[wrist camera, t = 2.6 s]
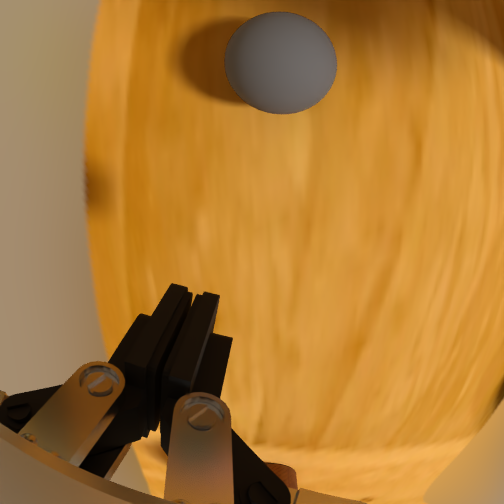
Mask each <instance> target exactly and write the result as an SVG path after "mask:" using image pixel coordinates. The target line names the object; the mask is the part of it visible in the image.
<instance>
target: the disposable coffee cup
mask: <svg viewBox="0 0 504 504" xmlns="http://www.w3.org/2000/svg"><path fill="white" fill-rule="evenodd" d="M266 465H267V466H268V467H269V468H270V469H271V470H272V471H273V472H274V473H275V474H276V475H277V476H278V477H279V478H280V479H281V480H282V481H283V482H284V483H285V485H286V486H287V487H289V488H293V489H296V490H298V487H297V478H296V472H295V470H294V469H292V468H290V467H288V466H284V465H279V464H266Z"/></svg>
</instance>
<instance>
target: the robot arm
mask: <svg viewBox="0 0 504 504" xmlns="http://www.w3.org/2000/svg"><path fill="white" fill-rule="evenodd" d="M192 296H193V293H191V292H188V288H187V287H185V286H181V285H177V284H173V283H172V284H171V285H170V286H169V288H168V290H167V291H166V293H165V294H164V296H163V298H162V299H161V301H160V302H159V304H158V306H157V307H156V309H155V311H154V312H153V314H152V316H148V315H145V314H142V313H141V314H139V315H138V317H137V318H136V320H135V321H134V323H133V324H132V326H131V327H130V329H129V330H128V332H127V333H126V335H125V336H124V338H123V339H122V341H121V343H120V344H119V346H118V347H117V349H116V350H115V352H114V354H113V355H112V357H111V358H110V360H109V361H108V363H107V362H101V361H96V362H89V363H87V364H84V365H83V366H81V367H80V368H79V369H78V370H77V371H76V372H75V373H74V374H73V375H72V376H71V377H70V378H69V379H68V380H67V381H66V382H65V383H64V384H62V385H58V386H53V387H49V388H44V389H39V390H34V391H29V392H24V393H19V394H15V395H12V396H7V394H6V392H4V391H1V390H0V504H366V503H364V502H361V501H356V500H350V499H345V498H340V497H335V496H331V495H327V494H322V493H318V492H314V491H310V490H306V489H303V488H300V489H299V490H296V489H293V488H289V487H287V486H286V485H285V483H284V482H283V481H282V480H281V479H280V478H279V477H278V476H277V475H276V474H275V473H274V472H273V471H272V470H271V469H270V468H269V467H268V466H267V465H266V464H265V463H264V462H263V461H262V460H261V459H260V458H259V457H258V456H257V455H256V454H255V453H254V452H253V451H252V450H251V449H250V448H249V447H248V446H247V445H246V443H245V442H244V441H243V440H242V439H241V438H240V437H239V436H238V435H237V434H236V433H235V431H234V430H233V429H232V428H231V414H230V410H229V408H228V407H227V405H226V403H224V402H223V401H222V400H221V399H220V396H221V391H222V386H223V382H224V377H225V373H226V368H227V363H228V359H229V354H230V349H231V345H232V340H233V338H231V337H227V336H223V335H219V334H215V333H213V329H214V324H215V319H216V314H217V309H218V304H219V298H220V295H217V294H212V293H208V292H204V293H203V295H199V294H197V295H196V297H195V299H194V301H193V304H192V306H191V303H192ZM159 422H160V433H161V447H162V448H163V450H164V451H165V453H166V454H167V456H168V461H167V471H166V481H165V491H164V499H161V498H158V497H155V496H152V495H148V494H145V493H142V492H139V491H136V490H133V489H130V488H127V487H125V486H122V485H119V484H117V483H114V482H111V481H109V480H110V479H111V477H112V476H113V474H114V472H115V471H116V469H117V468H118V466H119V465H120V463H121V462H122V460H123V458H124V457H125V455H126V454H127V452H128V450H129V449H130V446H131V444H132V442H135V441H138V440H141V437H142V436H143V437H146V438H147V437H148V435H149V432H150V430H152V431H156V430H157V427H158V425H159Z"/></svg>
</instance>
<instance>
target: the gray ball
mask: <svg viewBox="0 0 504 504" xmlns="http://www.w3.org/2000/svg"><path fill="white" fill-rule="evenodd" d="M225 71H226V75H227V78H228V81H229V83H230V85H231V86H232V88H233V89H234V91H235V92H236V93H237V95H238V96H239V97H240V98H241V99H242V100H244V101H245V102H246V103H247V104H249V105H251V106H252V107H254V108H256V109H258V110H261V111H264V112H268V113H272V114H292V113H297V112H300V111H303V110H306V109H308V108H310V107H312V106H314V105H315V104H316V103H318V102H319V101H320V100H321V99H322V98H323V97H324V96H325V95H326V94H327V92H328V91H329V90H330V88H331V86H332V84H333V82H334V79H335V76H336V71H337V59H336V54H335V50H334V47H333V45H332V42H331V41H330V39H329V37H328V36H327V35H326V33H325V32H324V31H323V30H322V29H321V28H320V27H319V26H318V25H316V24H315V23H314V22H312V21H311V20H309V19H307V18H305V17H303V16H300V15H297V14H294V13H289V12H270V13H265V14H261V15H258V16H256V17H254V18H252V19H250V20H248V21H247V22H245V23H244V24H243V25H241V26H240V27H239V28H238V29H237V30H236V31H235V33H234V34H233V35H232V37H231V39H230V41H229V43H228V45H227V48H226V52H225Z"/></svg>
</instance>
